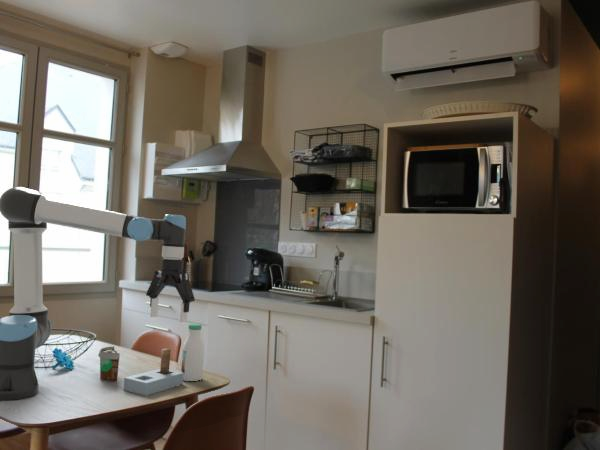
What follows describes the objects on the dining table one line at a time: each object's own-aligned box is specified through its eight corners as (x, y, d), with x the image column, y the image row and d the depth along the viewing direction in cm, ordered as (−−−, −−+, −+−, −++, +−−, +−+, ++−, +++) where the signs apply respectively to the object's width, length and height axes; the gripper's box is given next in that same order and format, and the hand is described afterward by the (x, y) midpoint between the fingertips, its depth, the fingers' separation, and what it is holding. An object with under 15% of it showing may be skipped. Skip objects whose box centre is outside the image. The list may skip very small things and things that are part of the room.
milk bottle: (205, 378, 204) (209, 324, 205) (196, 383, 197) (200, 326, 197) (186, 375, 206) (190, 321, 207) (176, 380, 199) (180, 324, 199)
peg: (163, 385, 191) (166, 350, 191) (157, 384, 193) (159, 349, 193) (170, 383, 194) (172, 349, 194) (163, 382, 195) (165, 348, 196)
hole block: (145, 395, 179) (146, 383, 179) (123, 389, 184) (124, 377, 184) (182, 384, 194) (183, 372, 194) (161, 379, 199) (162, 368, 199)
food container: (94, 374, 200) (96, 346, 200) (112, 373, 203) (114, 346, 203) (99, 383, 189) (101, 354, 189) (117, 382, 192) (119, 353, 192)
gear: (67, 369, 199) (51, 347, 200) (54, 380, 198) (38, 358, 200) (80, 366, 210) (65, 346, 211) (68, 376, 209) (53, 356, 211)
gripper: (207, 261, 192) (203, 322, 191) (153, 256, 204) (149, 313, 203) (193, 261, 185) (189, 325, 184) (138, 256, 197) (134, 315, 197)
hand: (168, 319), depth 194 cm, fingers open, 13 cm apart
